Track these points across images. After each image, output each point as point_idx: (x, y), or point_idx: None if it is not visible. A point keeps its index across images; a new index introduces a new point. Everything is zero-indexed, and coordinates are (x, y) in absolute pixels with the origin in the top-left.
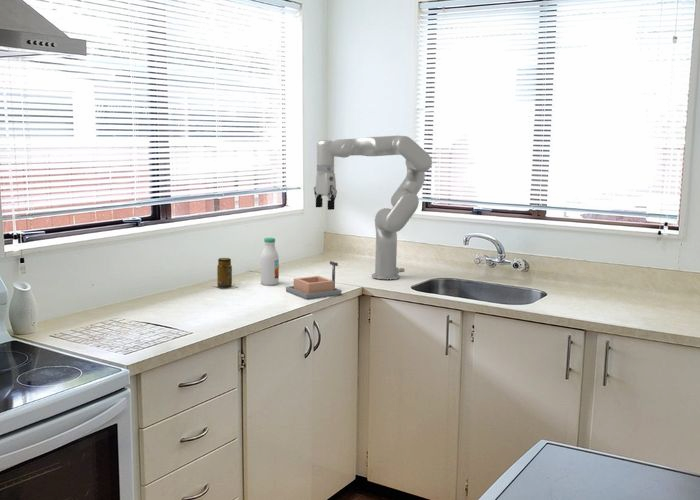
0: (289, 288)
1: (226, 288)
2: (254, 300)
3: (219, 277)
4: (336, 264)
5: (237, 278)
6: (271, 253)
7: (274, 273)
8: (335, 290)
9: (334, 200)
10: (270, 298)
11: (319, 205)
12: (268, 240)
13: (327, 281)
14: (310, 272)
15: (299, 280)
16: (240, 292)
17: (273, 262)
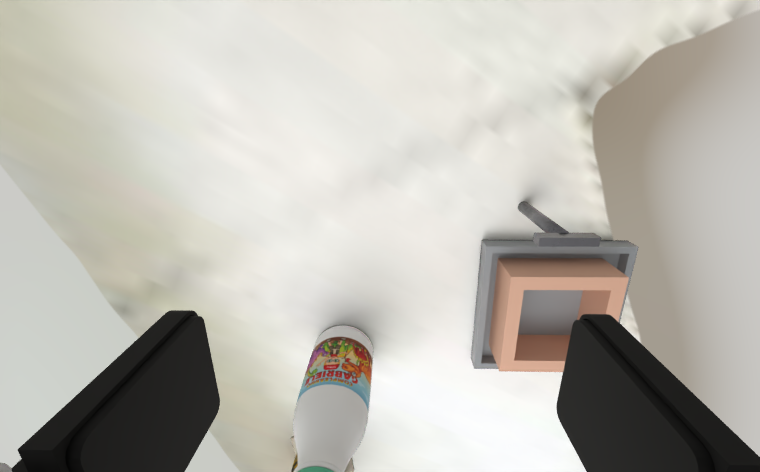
0: (497, 367)
1: (349, 461)
2: (513, 461)
3: None
4: (596, 243)
5: (225, 389)
6: (358, 445)
7: (371, 374)
8: (627, 268)
9: (757, 456)
10: (520, 424)
11: (199, 382)
12: None
13: (618, 301)
14: (212, 124)
15: (537, 369)
16: (409, 451)
17: (368, 409)
